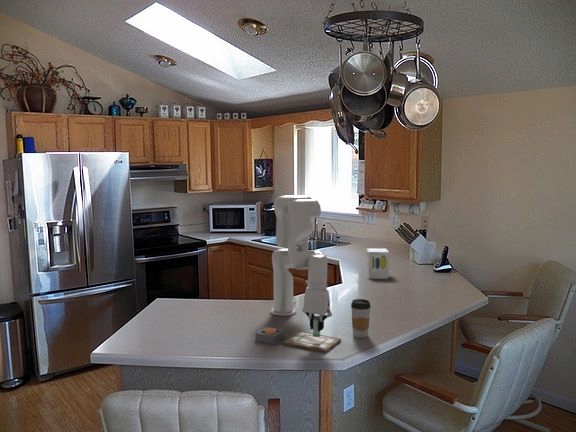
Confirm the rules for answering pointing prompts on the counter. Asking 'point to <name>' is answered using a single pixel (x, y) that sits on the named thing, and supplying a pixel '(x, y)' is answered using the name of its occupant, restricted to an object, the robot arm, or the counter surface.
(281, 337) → the button housing
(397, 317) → the counter surface
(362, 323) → the coffee cup
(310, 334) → the drawing board
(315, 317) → the sage green marker
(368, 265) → the supplement box
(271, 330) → the button
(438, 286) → the counter surface
